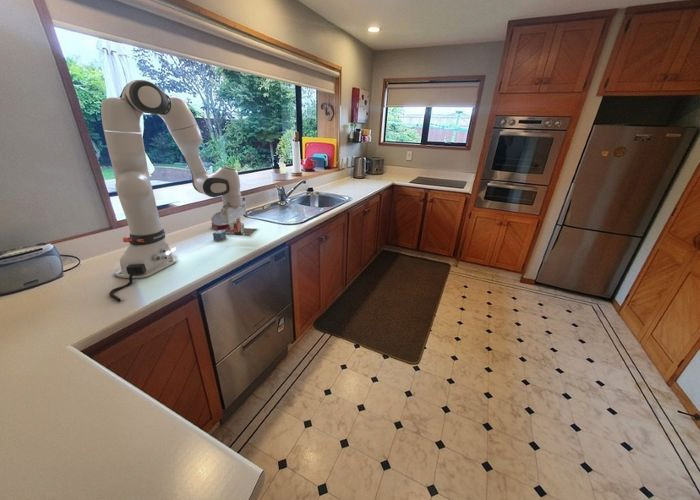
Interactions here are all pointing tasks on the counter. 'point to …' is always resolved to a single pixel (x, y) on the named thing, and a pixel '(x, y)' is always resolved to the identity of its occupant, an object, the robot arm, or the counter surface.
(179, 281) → the counter surface
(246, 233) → the word board
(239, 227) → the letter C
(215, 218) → the canned food
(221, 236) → the letter T
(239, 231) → the letter A
